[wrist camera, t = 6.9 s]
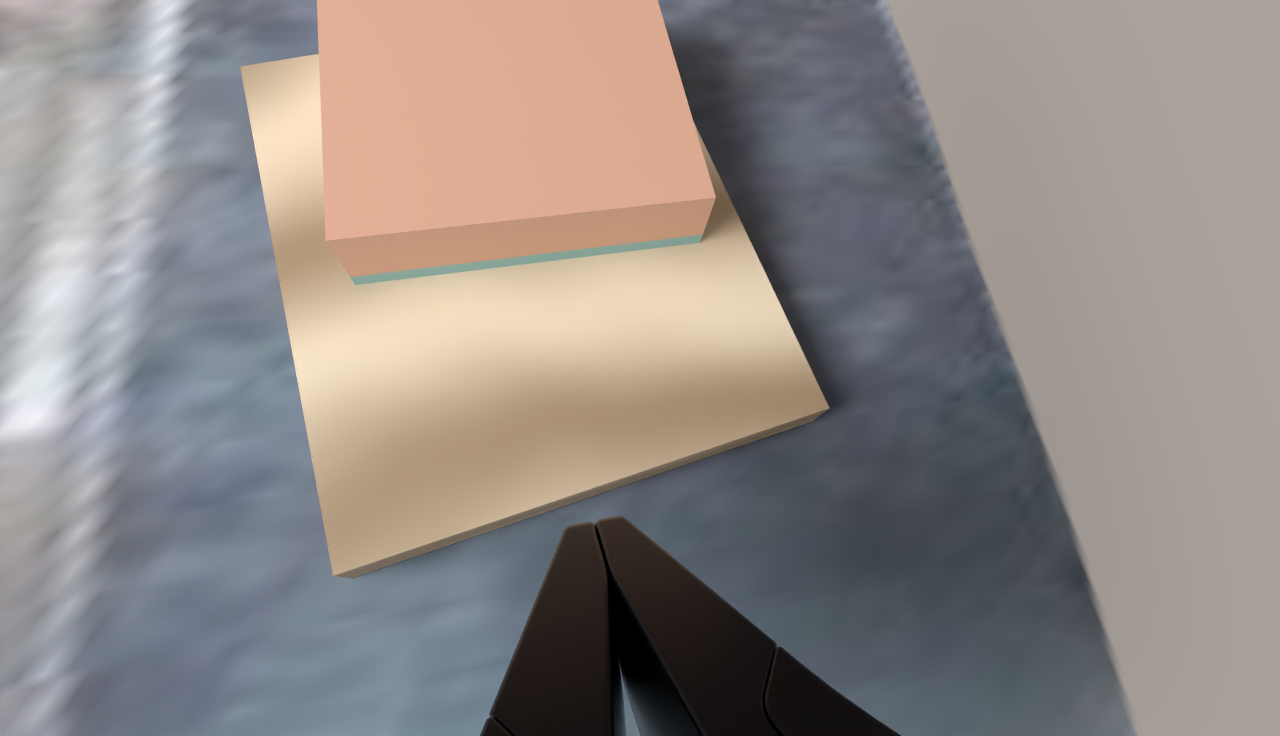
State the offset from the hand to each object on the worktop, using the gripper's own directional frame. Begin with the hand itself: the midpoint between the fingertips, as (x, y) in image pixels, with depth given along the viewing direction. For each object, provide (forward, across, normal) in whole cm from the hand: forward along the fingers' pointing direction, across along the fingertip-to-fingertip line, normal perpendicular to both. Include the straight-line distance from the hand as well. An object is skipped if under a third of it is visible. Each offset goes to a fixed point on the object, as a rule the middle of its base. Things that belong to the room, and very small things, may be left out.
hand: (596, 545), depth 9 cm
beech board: (+11, 0, -2) cm, 11 cm away
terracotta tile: (+8, 0, -3) cm, 9 cm away
